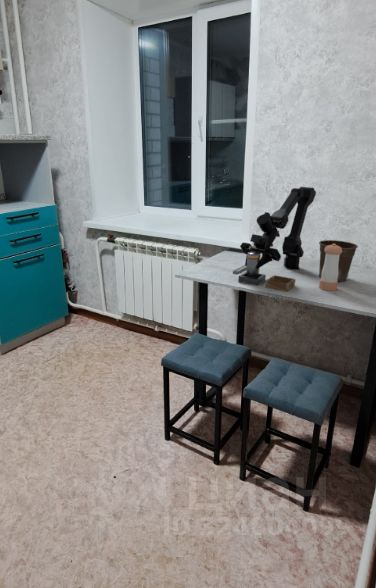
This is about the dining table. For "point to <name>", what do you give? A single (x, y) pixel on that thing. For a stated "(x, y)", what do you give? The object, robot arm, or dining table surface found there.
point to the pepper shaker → (330, 268)
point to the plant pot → (344, 257)
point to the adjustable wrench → (239, 269)
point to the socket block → (251, 279)
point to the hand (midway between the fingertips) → (251, 267)
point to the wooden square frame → (280, 283)
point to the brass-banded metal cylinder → (252, 264)
